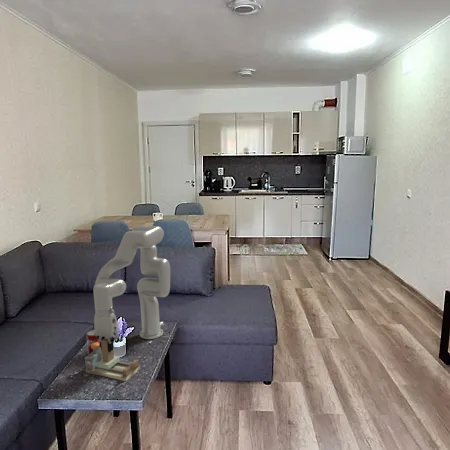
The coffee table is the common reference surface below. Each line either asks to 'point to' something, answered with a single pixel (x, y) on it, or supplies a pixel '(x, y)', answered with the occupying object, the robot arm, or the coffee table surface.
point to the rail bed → (117, 371)
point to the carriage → (107, 356)
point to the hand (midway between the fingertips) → (107, 349)
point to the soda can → (91, 340)
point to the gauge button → (95, 347)
